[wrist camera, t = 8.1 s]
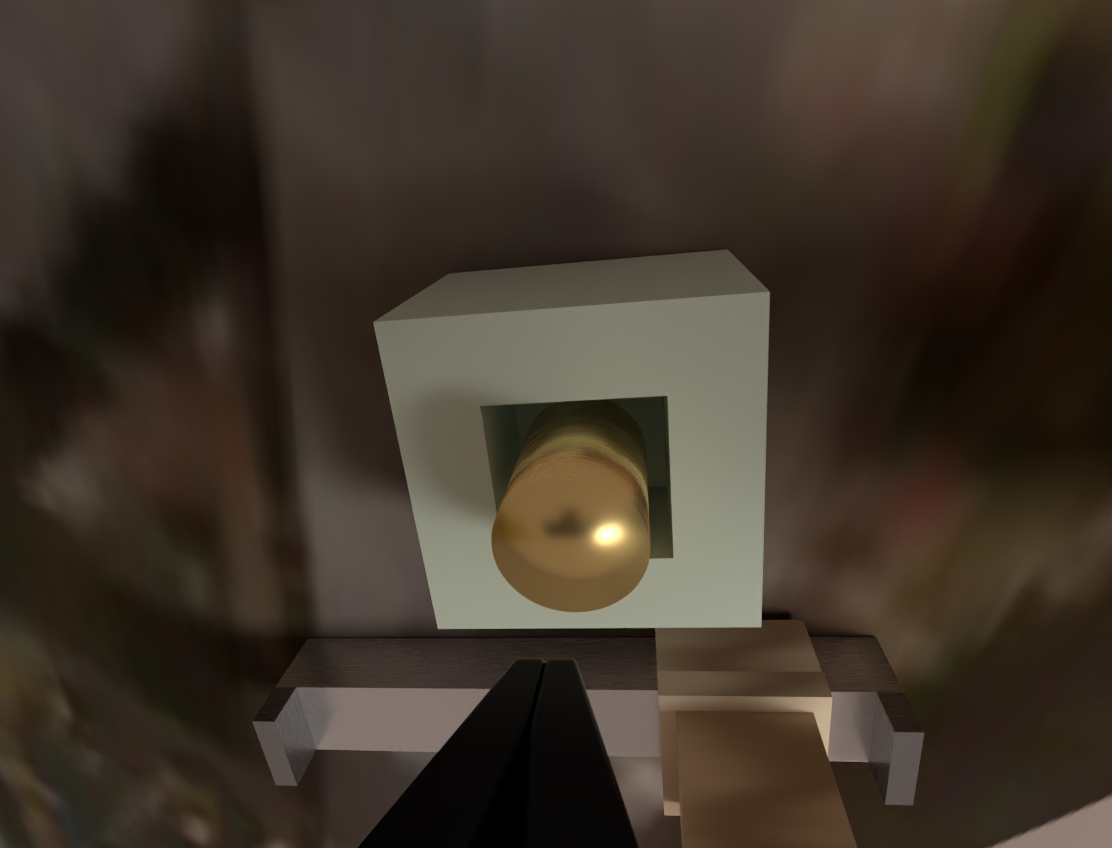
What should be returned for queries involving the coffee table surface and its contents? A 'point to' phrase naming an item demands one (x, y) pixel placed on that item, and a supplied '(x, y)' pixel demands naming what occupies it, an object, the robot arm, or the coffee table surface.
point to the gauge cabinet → (589, 374)
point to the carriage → (747, 738)
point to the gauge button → (576, 509)
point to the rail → (610, 680)
